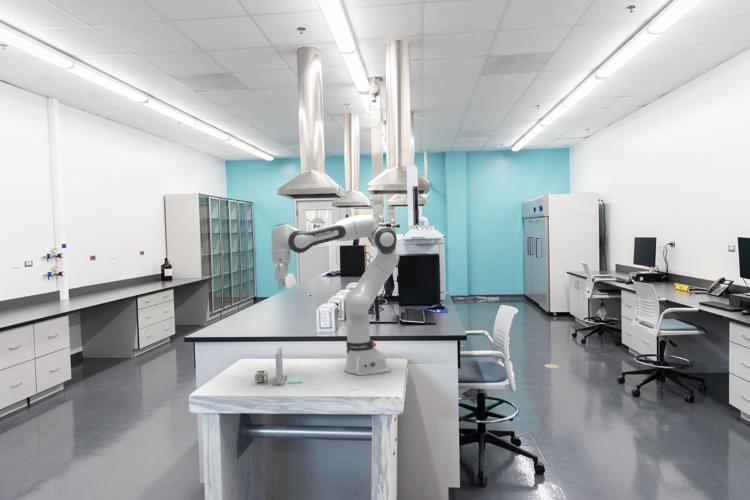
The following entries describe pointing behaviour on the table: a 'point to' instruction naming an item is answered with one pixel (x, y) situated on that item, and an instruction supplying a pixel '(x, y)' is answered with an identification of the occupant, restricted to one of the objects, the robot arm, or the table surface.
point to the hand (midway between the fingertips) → (281, 288)
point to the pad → (295, 380)
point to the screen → (279, 369)
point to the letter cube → (261, 377)
